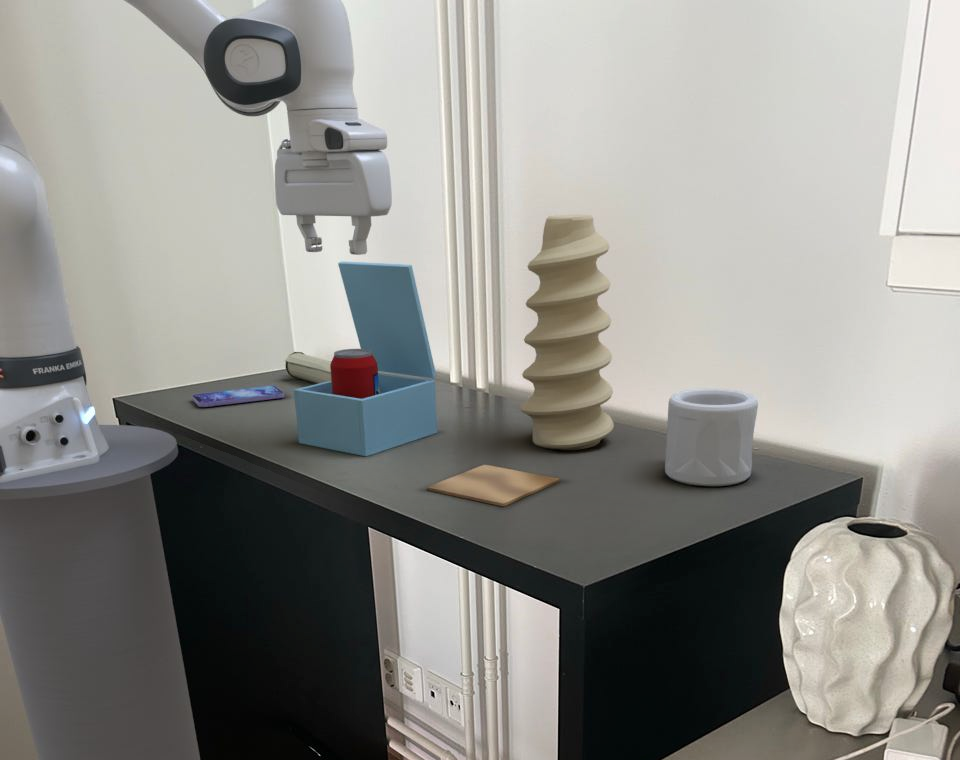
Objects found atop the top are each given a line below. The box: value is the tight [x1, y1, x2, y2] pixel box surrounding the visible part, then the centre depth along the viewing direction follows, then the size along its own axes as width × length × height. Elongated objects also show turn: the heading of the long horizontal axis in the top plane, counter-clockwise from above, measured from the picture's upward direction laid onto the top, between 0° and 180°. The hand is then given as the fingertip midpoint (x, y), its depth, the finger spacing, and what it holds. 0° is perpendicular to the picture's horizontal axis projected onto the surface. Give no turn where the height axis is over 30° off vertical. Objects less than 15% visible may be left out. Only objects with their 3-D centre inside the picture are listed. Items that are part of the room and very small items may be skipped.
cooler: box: [293, 372, 438, 457], centre depth 146 cm, size 16×14×8 cm
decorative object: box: [520, 214, 615, 451], centre depth 137 cm, size 13×13×30 cm
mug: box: [664, 388, 759, 487], centre depth 125 cm, size 14×11×10 cm
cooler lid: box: [337, 260, 437, 379], centre depth 145 cm, size 16×14×1 cm
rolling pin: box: [284, 351, 332, 384], centre depth 180 cm, size 32×6×5 cm, turn 35°
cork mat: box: [426, 464, 561, 508], centre depth 125 cm, size 12×12×1 cm
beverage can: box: [330, 348, 380, 399], centre depth 143 cm, size 7×7×12 cm
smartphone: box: [191, 384, 285, 408], centre depth 174 cm, size 7×1×15 cm
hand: (336, 253), depth 132 cm, fingers open, 8 cm apart
